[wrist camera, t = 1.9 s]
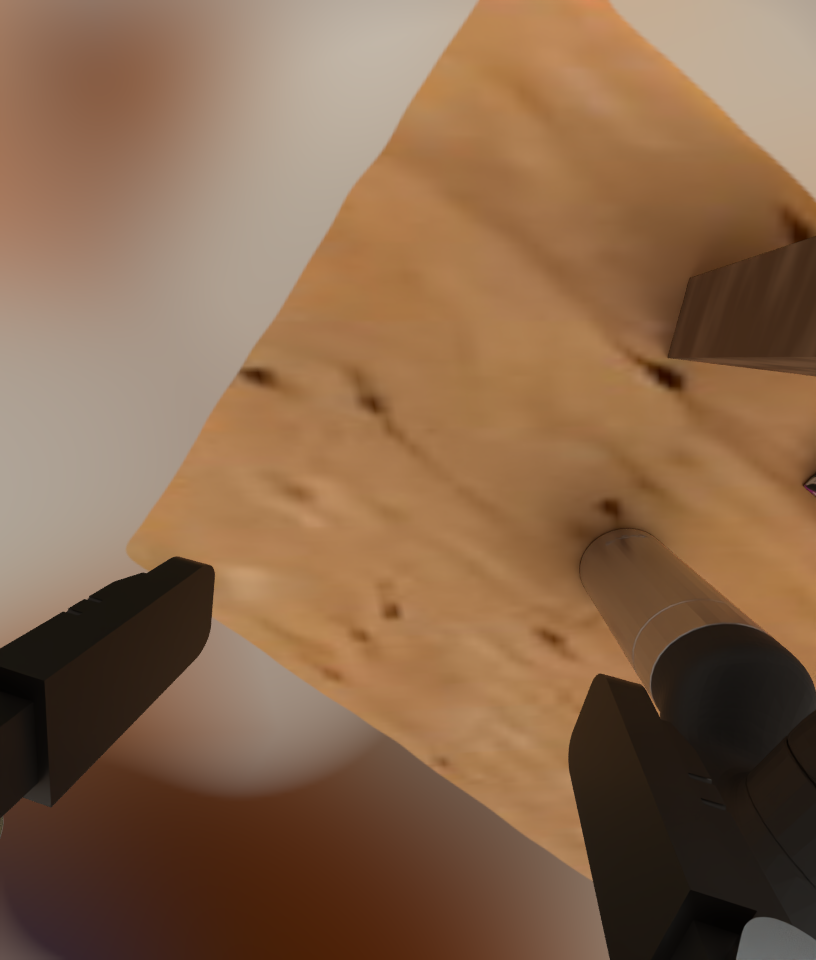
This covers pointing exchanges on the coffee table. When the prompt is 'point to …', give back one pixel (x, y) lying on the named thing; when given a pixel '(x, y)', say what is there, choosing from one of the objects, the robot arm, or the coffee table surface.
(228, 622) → the coffee table surface
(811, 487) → the candy bar box
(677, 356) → the post
